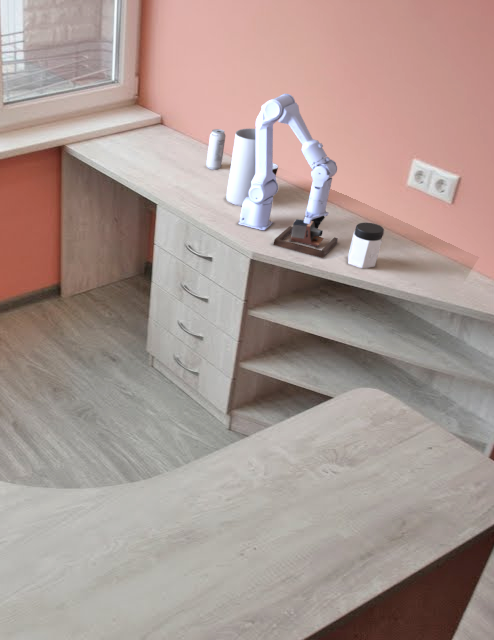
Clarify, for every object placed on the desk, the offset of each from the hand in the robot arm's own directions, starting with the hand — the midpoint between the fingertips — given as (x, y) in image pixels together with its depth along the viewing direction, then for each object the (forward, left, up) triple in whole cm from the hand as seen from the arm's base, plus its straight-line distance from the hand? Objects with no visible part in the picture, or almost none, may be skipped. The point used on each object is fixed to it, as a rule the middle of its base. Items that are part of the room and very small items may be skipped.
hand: (310, 236), depth 266 cm
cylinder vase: (-32, +19, -2) cm, 37 cm away
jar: (+19, -6, -2) cm, 20 cm away
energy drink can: (-56, +44, -2) cm, 71 cm away
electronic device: (0, -2, -1) cm, 3 cm away
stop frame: (0, -3, -2) cm, 3 cm away
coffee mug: (-31, +33, -2) cm, 45 cm away
